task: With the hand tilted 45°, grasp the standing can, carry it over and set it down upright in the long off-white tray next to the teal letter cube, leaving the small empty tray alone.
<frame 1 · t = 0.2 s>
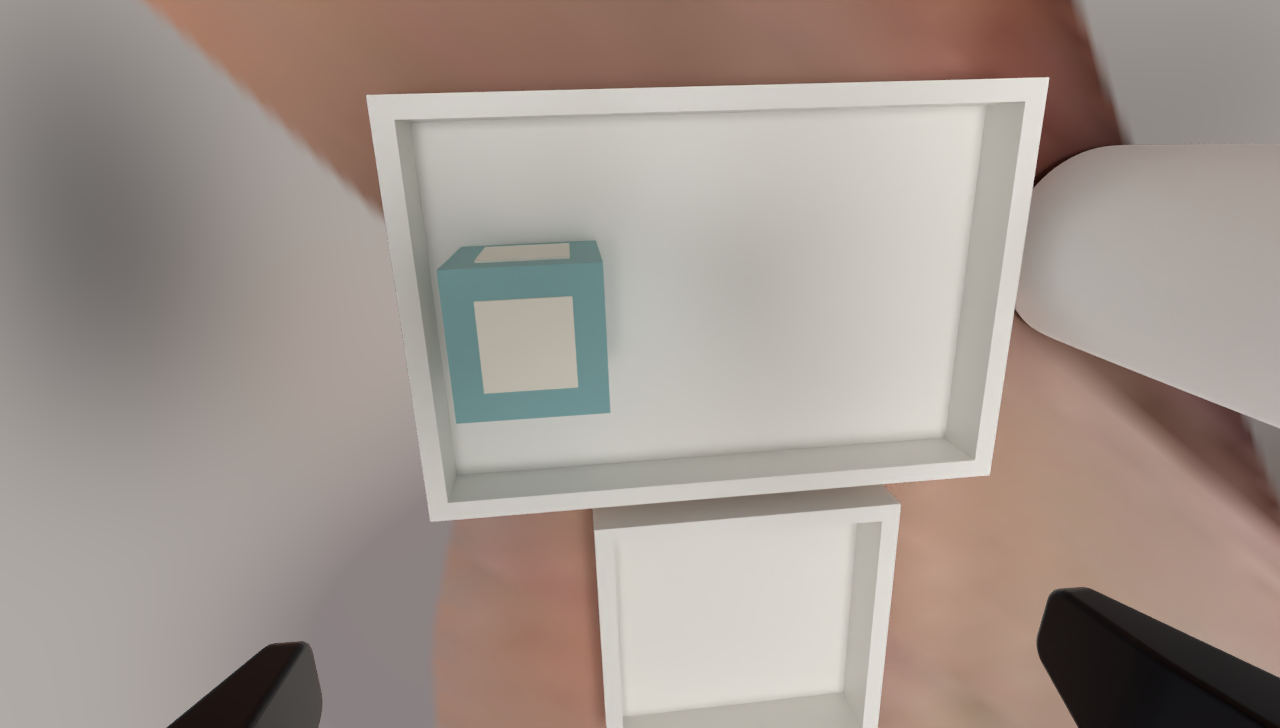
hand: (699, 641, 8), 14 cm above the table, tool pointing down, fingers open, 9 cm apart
long tray: (706, 295, 21), on the table
small tray: (732, 601, 25), on the table
can: (1081, 244, 23), on the table
letter cube: (534, 308, 20), resting on long tray
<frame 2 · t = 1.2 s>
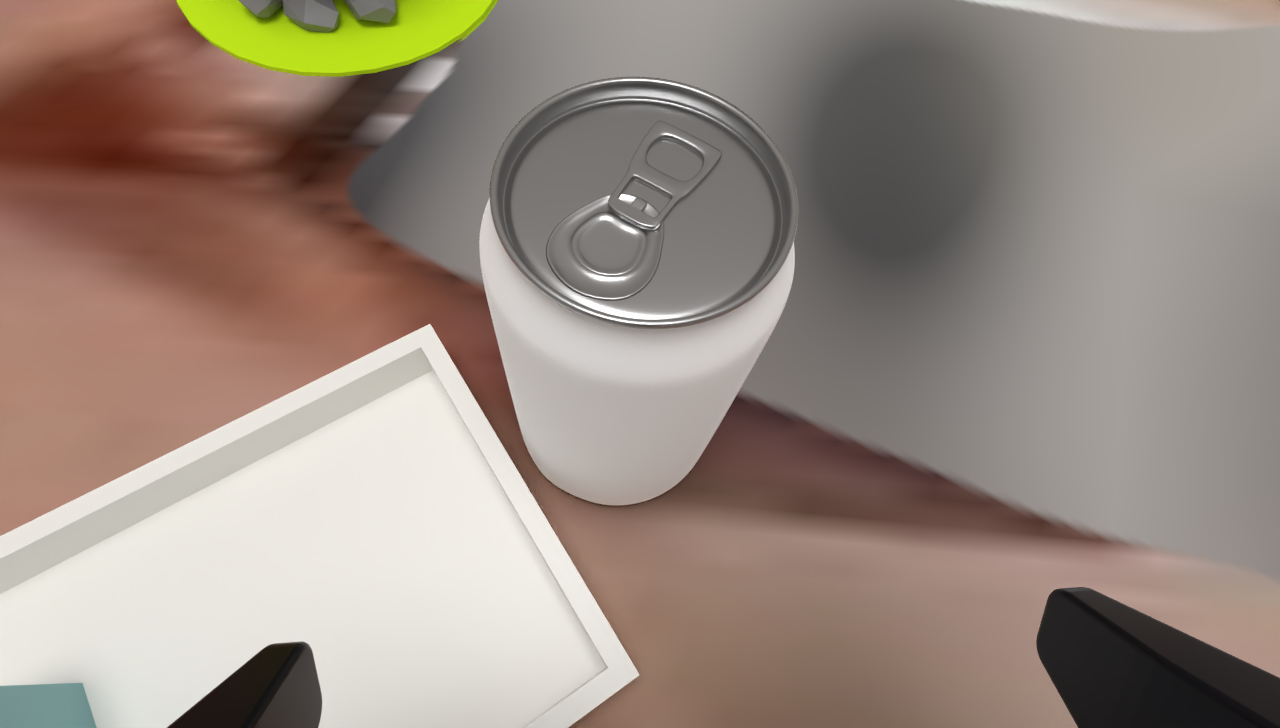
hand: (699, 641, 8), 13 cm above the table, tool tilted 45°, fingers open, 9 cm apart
long tray: (247, 671, 19), on the table
can: (614, 417, 23), on the table
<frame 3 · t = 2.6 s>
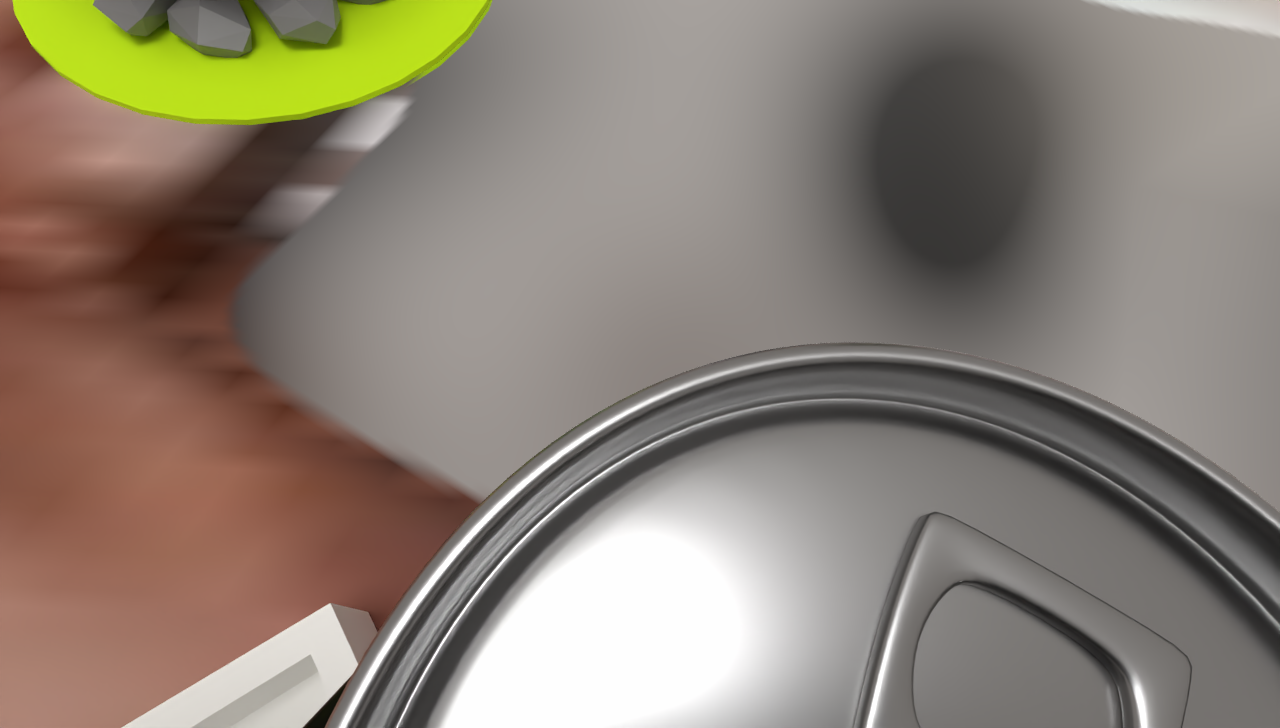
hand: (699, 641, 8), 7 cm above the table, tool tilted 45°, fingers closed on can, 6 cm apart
can: (655, 723, 14), on the table, touching gripper
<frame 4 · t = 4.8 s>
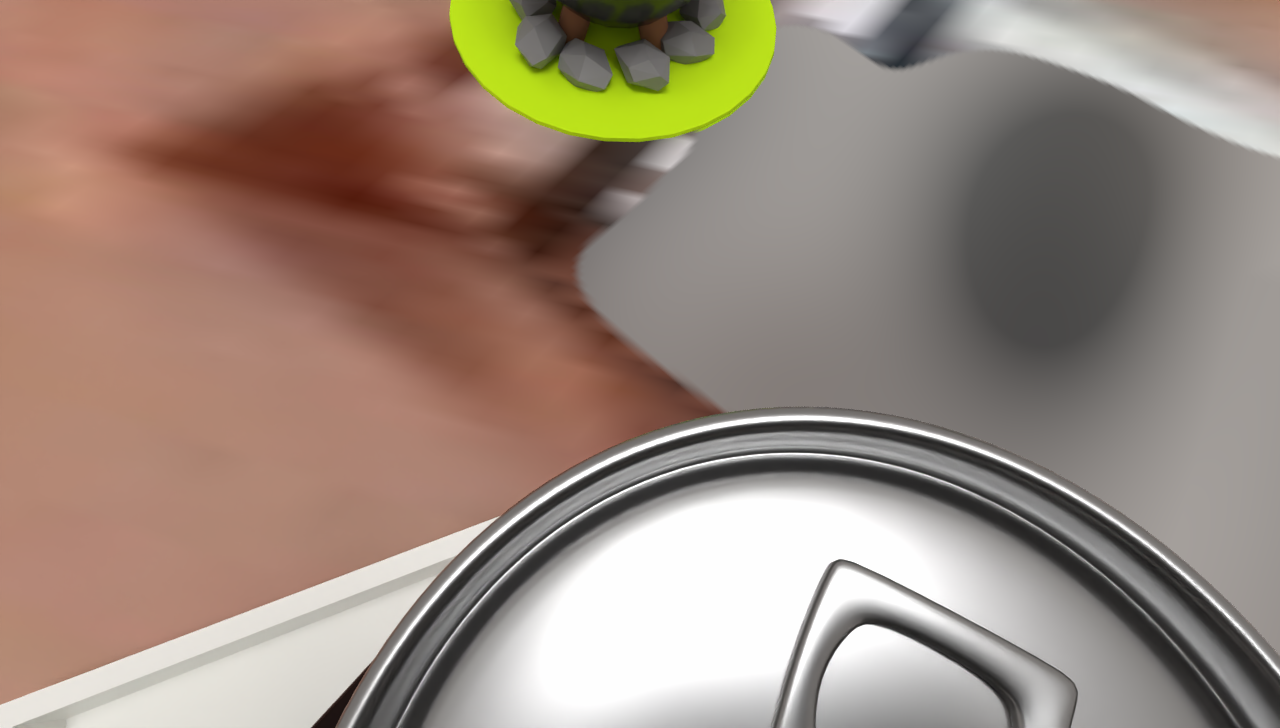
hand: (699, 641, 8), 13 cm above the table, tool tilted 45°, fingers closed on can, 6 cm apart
toy cauldron: (615, 20, 31), on the table
can: (697, 705, 14), point 6 cm above the table, touching gripper
when the fingers open (8 cm above the table, at t = 6.8 s): can stays where it is, resting on long tray.
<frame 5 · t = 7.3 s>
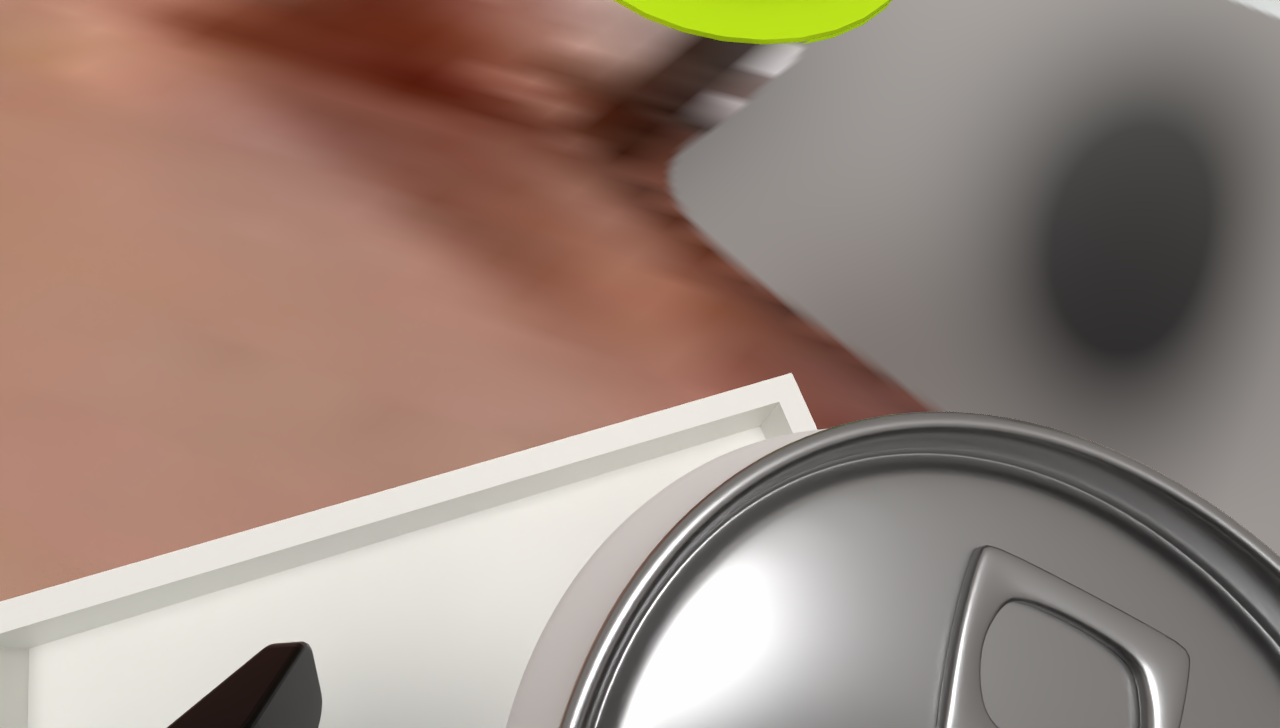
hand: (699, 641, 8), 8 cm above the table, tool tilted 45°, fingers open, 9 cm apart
can: (693, 718, 15), resting on long tray
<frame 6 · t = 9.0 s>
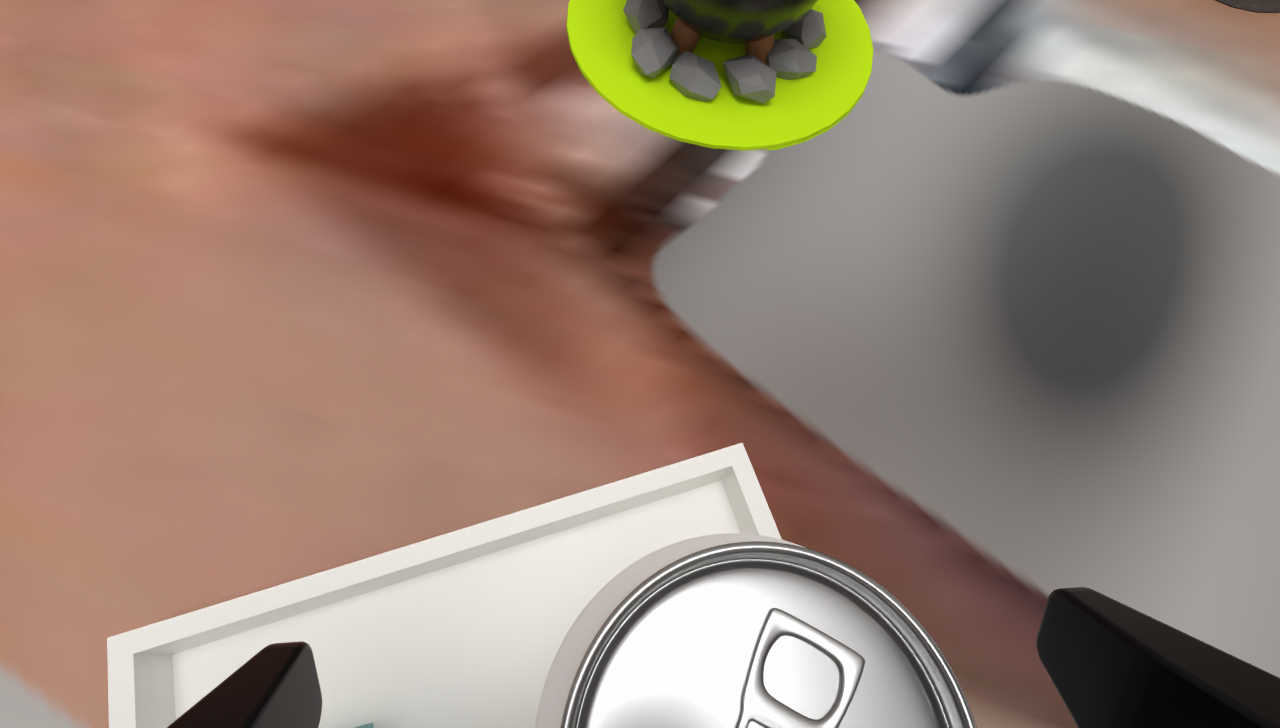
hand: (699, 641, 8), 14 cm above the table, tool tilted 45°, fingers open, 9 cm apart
toy cauldron: (720, 36, 32), on the table
can: (665, 706, 20), resting on long tray
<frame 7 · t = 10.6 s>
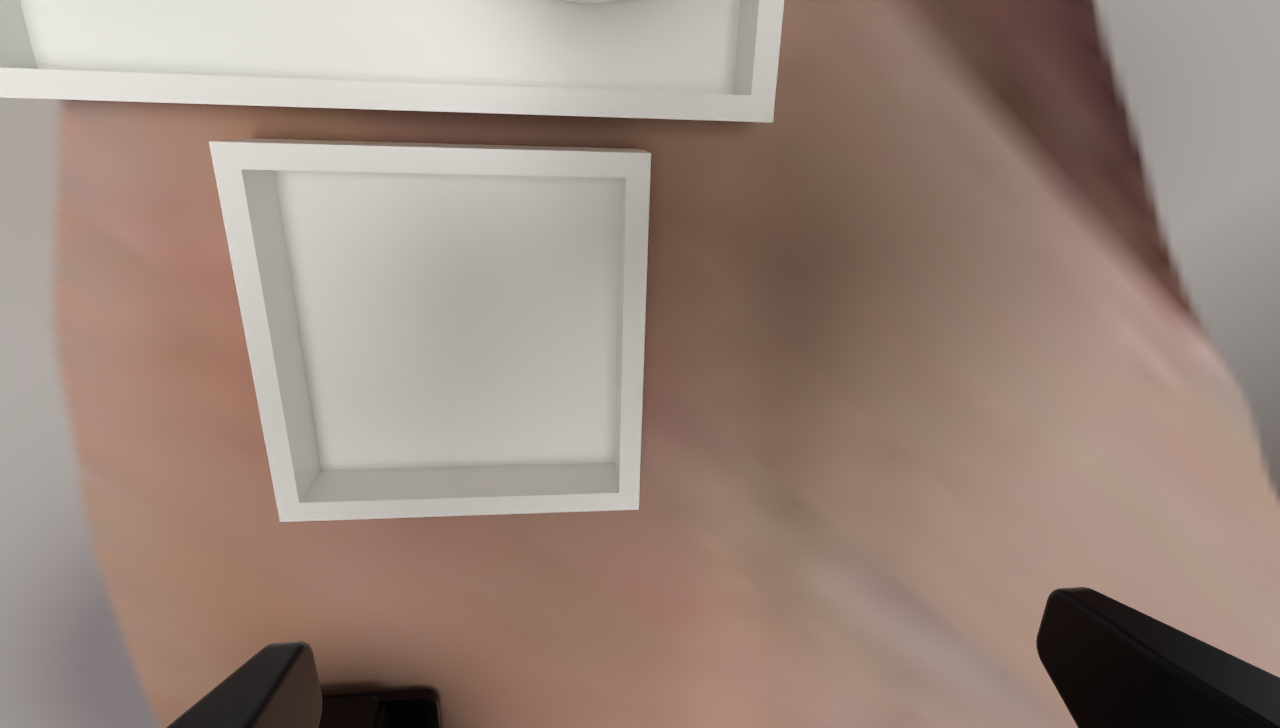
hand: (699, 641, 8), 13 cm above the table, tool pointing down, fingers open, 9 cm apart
small tray: (464, 324, 20), on the table
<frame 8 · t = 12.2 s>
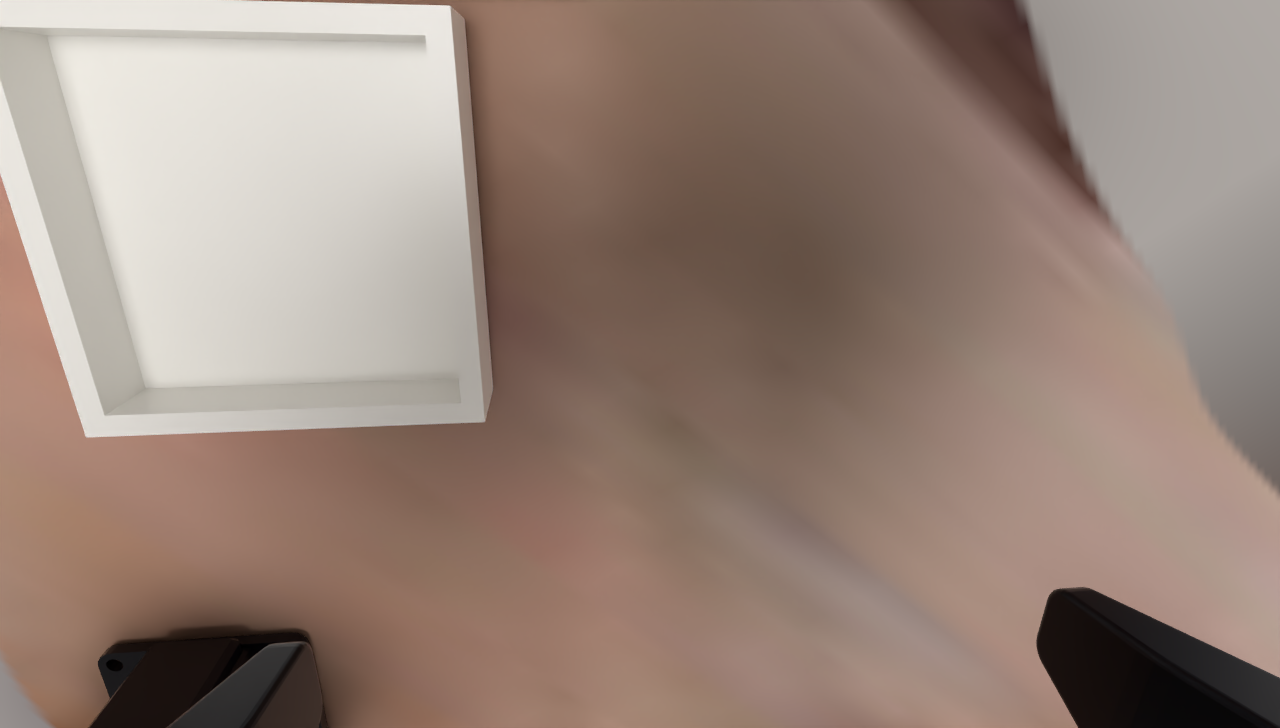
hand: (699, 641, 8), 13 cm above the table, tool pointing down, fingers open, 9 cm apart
small tray: (290, 223, 18), on the table
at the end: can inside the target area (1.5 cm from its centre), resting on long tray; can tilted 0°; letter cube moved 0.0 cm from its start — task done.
